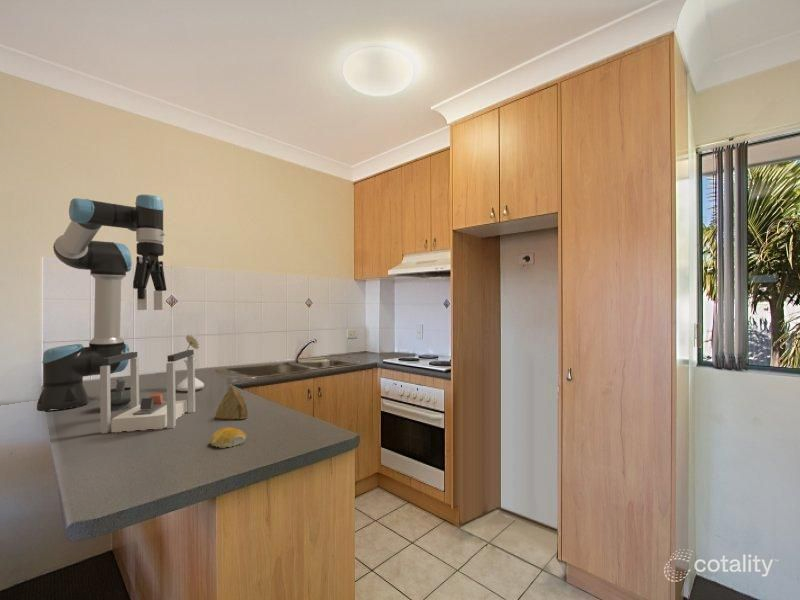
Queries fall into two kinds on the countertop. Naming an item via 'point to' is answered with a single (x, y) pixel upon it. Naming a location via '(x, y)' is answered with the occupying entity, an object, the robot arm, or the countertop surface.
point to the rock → (232, 406)
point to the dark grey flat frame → (134, 354)
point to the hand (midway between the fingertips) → (151, 309)
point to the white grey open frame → (136, 416)
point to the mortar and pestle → (120, 395)
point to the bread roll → (228, 437)
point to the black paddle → (147, 403)
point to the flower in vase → (184, 384)
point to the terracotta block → (157, 398)
